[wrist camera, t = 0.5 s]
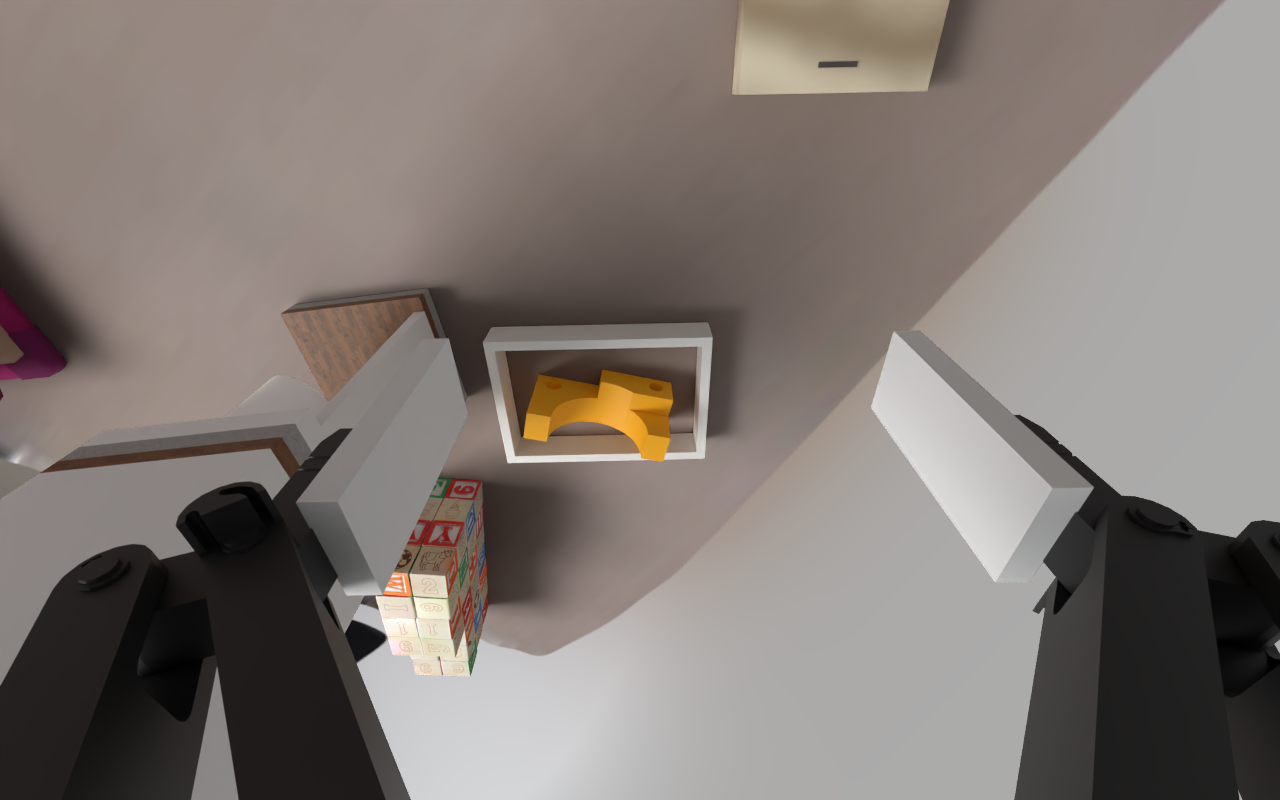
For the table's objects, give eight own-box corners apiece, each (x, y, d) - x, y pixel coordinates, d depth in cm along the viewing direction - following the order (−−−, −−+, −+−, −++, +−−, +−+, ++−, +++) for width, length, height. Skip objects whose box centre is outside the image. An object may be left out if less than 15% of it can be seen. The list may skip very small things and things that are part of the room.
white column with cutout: (428, 288, 41) (-105, 828, 11) (467, 396, 46) (183, 943, 17) (295, 304, 41) (-542, 858, 12) (350, 409, 47) (-122, 959, 18)
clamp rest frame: (491, 327, 43) (482, 342, 40) (707, 322, 43) (712, 337, 40) (514, 443, 49) (507, 463, 47) (700, 439, 50) (704, 458, 47)
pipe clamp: (670, 381, 46) (676, 421, 41) (659, 419, 48) (662, 462, 43) (541, 356, 45) (529, 394, 39) (535, 396, 47) (523, 437, 41)
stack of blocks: (490, 604, 64) (462, 706, 53) (440, 601, 63) (402, 703, 53) (482, 479, 52) (445, 577, 42) (421, 474, 52) (368, 572, 41)
